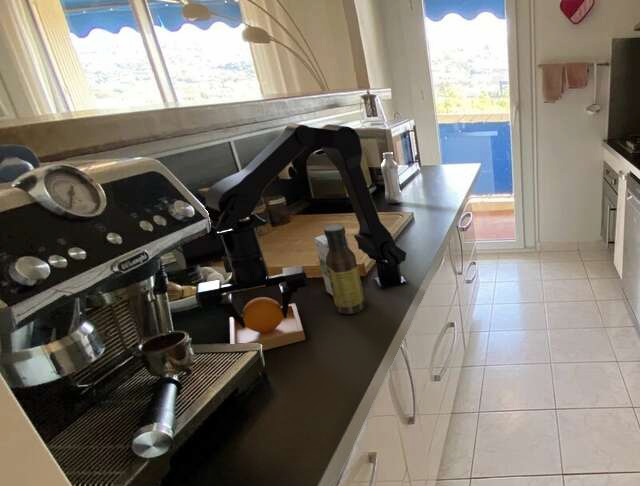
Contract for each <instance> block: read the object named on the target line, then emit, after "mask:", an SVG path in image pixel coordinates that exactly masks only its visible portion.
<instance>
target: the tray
mask: <svg viewBox="0 0 640 486" xmlns="http://www.w3.org/2000/svg"><path fill="white" fill-rule="evenodd" d="M280 306H281V308H282V305H280ZM301 322H302V321H301V318H300V315H299V311H298V308H297V305H296V303H294V302H293V303H289V306H288V312H287V318H284V315H283V318H282V321H281V323H280V324H279V325H278V326H277V327H276V328H275V329H273V330H271V331H268V332H256V331H253V330H251V329H249V328H248V327H247V326H246V325H245V328H243V327H242V326H241V325H240V324H239V323H238V322H237V321H236V320H235V319H234V318H233V317H232V316H230V317H229V344H235V343H261V344H262V345H263V351H267V350H271V349H274V348H279V347H284V346H287V345H291V344H294V343H298V342H301V341H305V340H306V335H305V332H304V328H303V323H301Z"/></svg>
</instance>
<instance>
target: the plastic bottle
mask: <svg viewBox="0 0 640 486" xmlns="http://www.w3.org/2000/svg"><path fill="white" fill-rule="evenodd" d="M382 158H383V161H382V162H381V163H380V169H381V170H380V171H381V174H382V177H383V182H384V188H385V189H384V191H385V193H384V199H385V201H386V202H387V203H388V204H399V203H401V202H402V200H403V195H402V191H401V187H400V183H399V166H398V163H397V162H396V161H395V159H394V153H393V152H388V151H387V152H383V153H382Z"/></svg>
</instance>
